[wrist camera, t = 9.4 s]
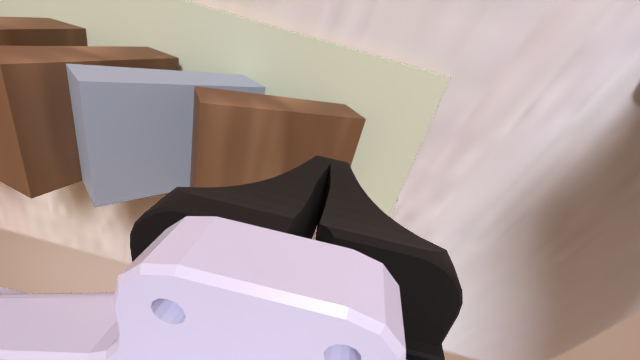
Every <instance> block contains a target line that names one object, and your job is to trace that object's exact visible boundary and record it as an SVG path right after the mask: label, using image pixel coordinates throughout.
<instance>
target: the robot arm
mask: <svg viewBox="0 0 640 360" xmlns="http://www.w3.org/2000/svg"><path fill="white" fill-rule="evenodd" d="M317 224H318V225H317ZM316 227H317V233H316V240H312V237H313V234H314V232H315V229H316ZM130 249H131V256H132V263H131V264H130V265H129V266H128V267H127V268H126V269H125V270H124V271H123V272H122V273H121V274H120V275H119V276H118V279H117V284H116V289H115V292H112V293H48V294H47V293H44V294H28V293H24V292H20V291H16V290H12V289H9V288H5V287H1V286H0V360H445V358H444V353H443V348H442V342H443V341H444V339H445V337H446V335H447V334H448V332H449V330H450V328H451V327H452V325H453V323H454V321H455V320H456V318H457V316H458V314H459V312H460V309H461V306H462V289H461V286H460V283H459V280H458V277H457V274H456V271H455V268H454V266H453V263H452V261H451V259H450V257H449V255H448V252H447V250H445V249H443V248H441V247H439V246H437V245H435V244H433V243H431V242H429V241H427V240H425V239H423V238H421V237H419V236H417V235H415V234H414V233H412V232H410V231H409V230H407V229H406V228H404V227H403V226H401V225H400V224H398V223H397V222H395V221H394V220H393V219H392V218H390V217H389V216H388V215H387V214H385V213H384V212H383V211H382V210H381V209H380V208H379V207H378V206H377V205H376V204H375V203H374V202H373V201H372V200H371V199H370V198H369V197H368V195H367V194H366V193H365V191H364V190H363V189H362V187H361V186H360V184H359V182H358V181H357V179H356V177H355V175H354V173H353V171H352V169H351V166H350V165H349V163H348V162H344V161H340V160H335V159H331V158H326V157H322V156H315V157H313V158H312V159H310V160H308V161H307V162H305V163H303V164H302V165H300V166H298V167H296V168H294V169H292V170H290V171H288V172H286V173H283V174H281V175H279V176H276V177H273V178H270V179H266V180H263V181H259V182H254V183H248V184H243V185H237V186H227V187H176V188H175V189H173V190H172V191H171V192H170V193H168V194H167V195H166V196H165V197H163V198H162V199H161V200H160V201H159V202H157V203H156V204H155V205H154V206H152V207H151V208H150V209H149V210H148V211H146V212H145V213H144V214H143V215H142V216H141V217H140V218H139V219H138V220H137V221H136V222H135V224H134V226H133V228H132V231H131V233H130Z"/></svg>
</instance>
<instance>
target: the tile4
mask: <svg viewBox="0 0 640 360" xmlns="http://www.w3.org/2000/svg"><path fill="white" fill-rule="evenodd" d="M0 46H88V44H87V34H86V28H82V27H79V26H75V25H72V24H68V23H65V22H62V21H58V20H55V19H51V18H34V17H0Z"/></svg>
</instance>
